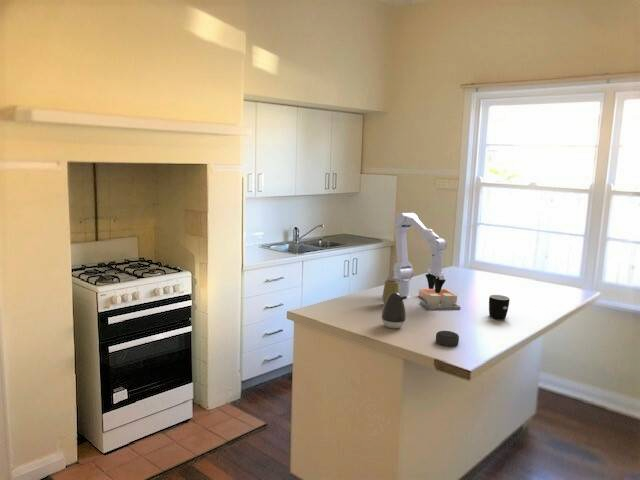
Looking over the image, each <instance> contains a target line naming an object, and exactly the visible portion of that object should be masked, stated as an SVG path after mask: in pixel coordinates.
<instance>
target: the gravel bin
mask: <svg viewBox="0 0 640 480" xmlns="http://www.w3.org/2000/svg"><path fill="white" fill-rule="evenodd" d="M442 293H450V294H452V295H454V303H457V302H458V301H457V300H458V295H457V294H455V293H453V292H452V291H450V290H448V289H447V288H441V291H440V293H435V288H433V289H429V288H418V297H420V298H422V299H423V301H427V297H428V294H438V295H439V296H440V301H441V299H442Z"/></svg>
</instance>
